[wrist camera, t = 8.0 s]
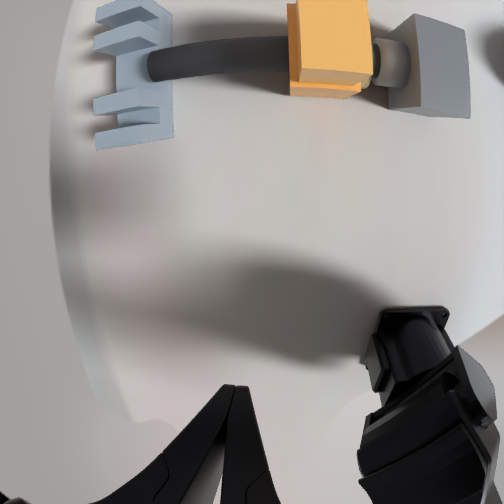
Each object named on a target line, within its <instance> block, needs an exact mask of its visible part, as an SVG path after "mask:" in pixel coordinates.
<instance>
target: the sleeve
mask: <svg viewBox="0 0 504 504" xmlns="http://www.w3.org/2000/svg"><path fill="white" fill-rule="evenodd" d="M287 18H288V40H289V68H290V96H299V97H322V98H337V99H346V98H348V97H350V96H352V95H354V94H357V93H359V92H361V81H363V80H364V79H366V78H368V77H370V76H371V75H373V61H372V45H371V33H370V23H369V14H368V5H367V0H296V4H287Z"/></svg>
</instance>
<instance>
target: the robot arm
mask: <svg viewBox="0 0 504 504" xmlns="http://www.w3.org/2000/svg"><path fill="white" fill-rule="evenodd" d="M444 313H445V314H444ZM443 314H444V315H443ZM386 315H388V316H387V317H384V316H386ZM449 315H450V313H449V311H448V309H447V308H428V309H386V310H383V311H382V312H381V313H380V316H379V319H378V323H377V327H376V330H375V333H373V334H372V335H371V339H370V342H369V345H368V349H367V352H366V355H365V358H366V363H365V366H366V369H367V370H368V371H369V376H370V381H371V386H372V390H373V391H374V392H375V393H378V392H379V395H380V399H381V404H382V407H381V408H380V409H378V410H377V411H375V412H374V413H370V414H369V415H368V416H366V420H365V426H364V430H363V435H362V440H361V445H360V449H358V450H357V460H358V466H359V470H360V472H361V474H362V476H363V478H361V479H359V481H358V482H359V484H360V485H361V486H362V487H363V489H365V491H366V492H367V494H368V495H369V497H370V499H371V500H372V503H373V504H502V501H501V499H500V496H499V494H498V491H497V489H496V487H495V484H494V480H493V479H494V474H495V469H496V463H497V457H498V450H499V443H500V435H499V432H498V430H497V428H496V426H495V424H494V421H495V420H496V419H497V410H496V399H495V390H494V385H493V383H492V382H491V380H490V378H489V377H488V375H487V373H486V371H485V370H484V368H483V367H482V365H480V364H479V363H478V362H477V361H476V360H475V359H473V358H472V357H471V356H470V355H469V354H468V353H466V352H465V351H464V350H463V349H462V348H460V347H459V346H458V345H457V346H456V347H454V345H453V343H452V342H451V340H450V338H449V336H448V334H447V332H446V331H445V329H444V328H445V325H446V323H447V320H448V318H449ZM222 473H223V475H222ZM221 476H222V487H221V500H220V504H281V503H280V500H279V498H278V496H277V493H276V491H275V488H274V484H273V481H272V477H271V474H270V471H269V467H268V463H267V459H266V455H265V451H264V447H263V443H262V439H261V435H260V432H259V427H258V423H257V419H256V415H255V411H254V407H253V403H252V399H251V394H250V390H249V387H248V386H235V385H229V384H224V385H223V386H222V387H221V388H220V389H219V390H218V391H217V392H216V394H215V395H214V396H213V397H212V398H211V399H210V400H209V402H208V403H207V404H206V405H205V406H204V407H203V408H202V409H201V411H200V412H199V413H198V414H197V415H196V416H195V417H194V418H193V419H192V421H191V422H190V423H189V424H188V425H187V426H186V427H185V428H184V429H183V430H182V431H181V432H180V434H179V435H178V436H177V437H176V438H175V439H174V440H173V441H172V442H171V443H170V444H169V445H168V446H167V448H165V449H164V450H163V453H161V454H160V455H158V457H157V458H156V459H155V460H154V461H153V462H151V463H150V464H149V465H148V466H147V467H146V468H145V469H144V470H143V471H141V472H140V473H139V474H138V475H137V476H135V477H134V478H133V479H131V480H130V481H128V482H127V483H126V484H124V485H123V486H121V487H120V488H119V489H117V490H116V491H115V492H113V493H112V494H110V495H109V496H107V497H105V498H104V499H102V500H99V501H97V502H94V503H90V504H213V501H214V498H215V495H216V492H217V488H218V485H219V482H220V479H221ZM0 504H31V503H29V502H27V501H26V500H24V499H22V498H20V497H19V498H15V499H10V498H9V497H7V496H6V495H5V494H3V493H2V492H1V491H0Z"/></svg>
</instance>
